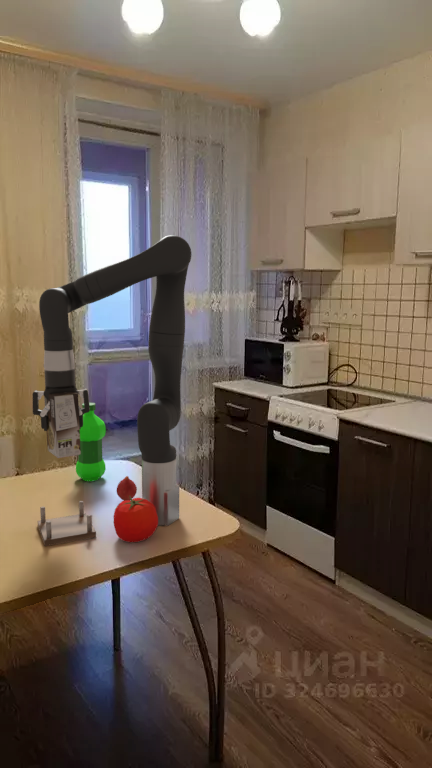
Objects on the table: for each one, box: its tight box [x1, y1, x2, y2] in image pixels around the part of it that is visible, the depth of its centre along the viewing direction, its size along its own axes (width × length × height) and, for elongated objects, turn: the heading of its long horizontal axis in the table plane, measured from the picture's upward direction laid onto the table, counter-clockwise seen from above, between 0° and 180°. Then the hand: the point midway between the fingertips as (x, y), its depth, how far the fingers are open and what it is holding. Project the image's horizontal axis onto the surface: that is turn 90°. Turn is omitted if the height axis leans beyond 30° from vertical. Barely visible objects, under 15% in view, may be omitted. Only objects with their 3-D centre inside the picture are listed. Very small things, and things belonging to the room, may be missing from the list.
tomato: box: [113, 496, 159, 543], centre depth 144 cm, size 12×12×10 cm
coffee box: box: [43, 392, 81, 459], centre depth 149 cm, size 9×6×16 cm
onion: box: [116, 475, 138, 501], centre depth 168 cm, size 6×6×8 cm
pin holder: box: [37, 500, 97, 547], centre depth 148 cm, size 13×13×6 cm
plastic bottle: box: [75, 402, 107, 482], centre depth 186 cm, size 10×10×25 cm
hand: (62, 429), depth 149 cm, fingers closed on coffee box, 8 cm apart
